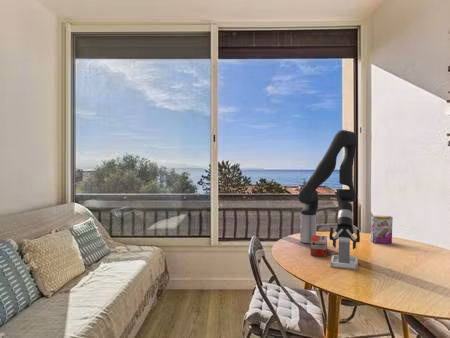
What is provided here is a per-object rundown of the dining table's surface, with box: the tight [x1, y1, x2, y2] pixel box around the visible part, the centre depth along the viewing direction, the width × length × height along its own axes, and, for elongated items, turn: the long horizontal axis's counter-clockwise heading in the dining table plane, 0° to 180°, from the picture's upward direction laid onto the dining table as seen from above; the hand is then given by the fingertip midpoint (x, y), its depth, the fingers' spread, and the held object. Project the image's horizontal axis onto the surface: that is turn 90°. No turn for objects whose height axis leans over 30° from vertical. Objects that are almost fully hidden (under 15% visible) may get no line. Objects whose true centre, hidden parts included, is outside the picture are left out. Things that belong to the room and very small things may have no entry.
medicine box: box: [310, 234, 328, 257], centre depth 182 cm, size 15×8×8 cm, turn 161°
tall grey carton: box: [338, 237, 351, 264], centre depth 161 cm, size 5×6×12 cm
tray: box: [330, 254, 359, 270], centre depth 161 cm, size 12×13×2 cm
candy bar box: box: [370, 214, 393, 244], centre depth 202 cm, size 11×5×16 cm, turn 84°
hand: (344, 247), depth 161 cm, fingers open, 8 cm apart
